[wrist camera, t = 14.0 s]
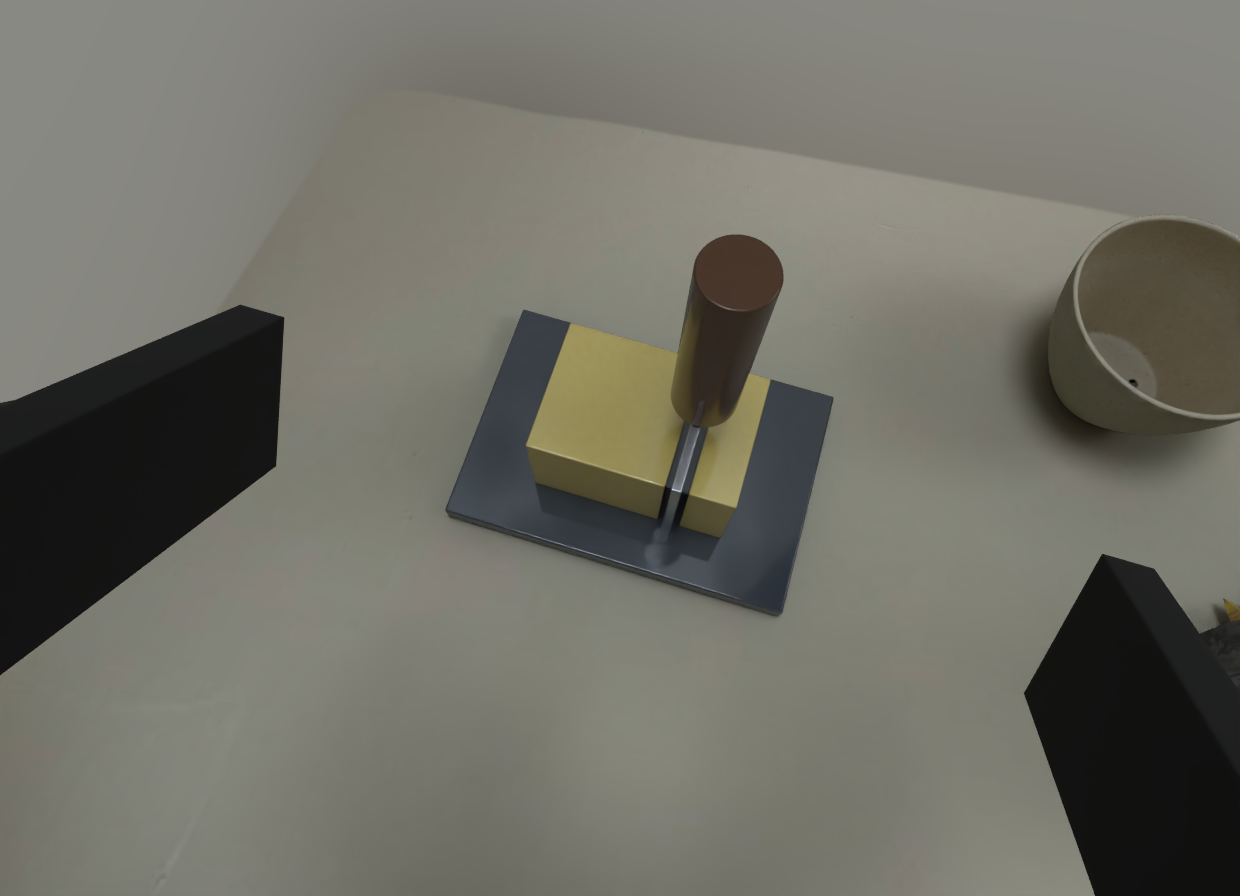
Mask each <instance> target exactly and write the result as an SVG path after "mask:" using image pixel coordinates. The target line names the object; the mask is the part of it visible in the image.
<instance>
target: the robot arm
mask: <svg viewBox="0 0 1240 896" xmlns="http://www.w3.org/2000/svg"><path fill="white" fill-rule="evenodd" d="M283 330H284V317H281V316H277V315H274V314H271V313H267V312H264V311H260V310H257V309H253V308H250V307H246V306H243V305H238V306H236V307H234V308H231V309H229V310H227V311H224V312H222V313H220V314H217V315H215V316H212V317H210V318H208V319H205V320H203V321H201V322H198V323H196V324H194V325H191V326H189V327H187V328H184V329H182V330H179V331H177V332H175V333H172V334H170V335H168V336H165V337H163V338H161V339H158V340H156V341H154V342H151V343H149V344H146V345H144V346H142V347H139V348H137V349H135V350H132V351H130V352H128V353H125V354H123V355H121V356H118V357H116V358H113V359H111V360H109V361H106V362H104V363H102V364H99V365H97V366H95V367H92V368H90V369H88V370H85V371H83V372H81V373H78V374H76V375H73V376H71V377H69V378H66V379H64V380H61V381H59V382H57V383H54V384H52V385H50V386H47V387H45V388H43V389H41V390H38V391H36V392H33V393H31V394H28V395H26V396H24V397H22V398H19V399H17V400H13V401H8V402H3V403H0V675H1V674H2V673H4V672H5V671H6V670H8V669H9V668H10V667H12V666H13V665H14V664H16V663H17V662H18V661H20V660H21V659H22V658H24V657H25V656H26V655H28V654H29V653H30V652H31V651H33V650H34V649H35V648H37V647H38V646H39V645H41V644H42V643H43V642H45V641H46V640H47V639H49V638H50V637H51V636H53V635H54V634H55V633H57V632H58V631H59V630H60V629H62V628H63V627H64V626H66V625H67V624H68V623H70V622H71V621H72V620H74V619H75V618H76V617H78V616H79V615H80V614H82V613H83V612H84V611H86V610H87V609H88V608H89V607H91V606H92V605H93V604H95V603H96V602H97V601H99V600H100V599H101V598H103V597H104V596H105V595H107V594H108V593H109V592H111V591H112V590H113V589H115V588H116V587H117V586H118V585H120V584H121V583H122V582H124V581H125V580H126V579H128V578H129V577H130V576H132V575H133V574H134V573H136V572H137V571H138V570H140V569H141V568H142V567H144V566H145V565H146V564H147V563H149V562H150V561H151V560H153V559H154V558H155V557H157V556H158V555H159V554H161V553H162V552H163V551H165V550H166V549H167V548H169V547H170V546H171V545H173V544H174V543H175V542H176V541H178V540H179V539H180V538H182V537H183V536H184V535H186V534H187V533H188V532H190V531H191V530H192V529H194V528H195V527H196V526H198V525H199V524H200V523H202V522H203V521H204V520H206V519H207V518H208V517H209V516H211V515H212V514H213V513H215V512H216V511H217V510H219V509H220V508H221V507H223V506H224V505H225V504H227V503H228V502H229V501H231V500H232V499H233V498H235V497H236V496H237V495H238V494H240V493H241V492H242V491H244V490H245V489H246V488H248V487H249V486H250V485H252V484H253V483H254V482H256V481H257V480H258V479H260V478H261V477H262V476H264V475H265V474H266V473H267V472H269V471H270V470H271V469H273V468H274V467H275V466H276V458H277V440H278V421H279V403H280V385H281V367H282V349H283ZM1024 695H1025V698H1026V700H1027V703H1028V706H1029V709H1030V712H1031V715H1032V717H1033V720H1034V723H1035V726H1036V729H1037V732H1038V734H1039V737H1040V740H1041V743H1042V746H1043V749H1044V752H1045V754H1046V757H1047V760H1048V763H1049V766H1050V769H1051V771H1052V774H1053V777H1054V780H1055V783H1056V786H1057V788H1058V791H1059V794H1060V797H1061V800H1062V803H1063V806H1064V808H1065V811H1066V814H1067V817H1068V820H1069V823H1070V825H1071V828H1072V831H1073V834H1074V837H1075V840H1076V842H1077V845H1078V848H1079V851H1080V854H1081V857H1082V860H1083V862H1084V865H1085V868H1086V871H1087V874H1088V877H1089V879H1090V882H1091V885H1092V888H1093V891H1094V894H1095V896H1240V691H1239V690H1238V688H1237V687H1236V685H1235V684H1234V683H1233V681H1232V680H1231V678H1230V677H1229V675H1228V674H1227V673H1226V671H1225V670H1224V668H1223V667H1222V665H1221V664H1220V663H1219V661H1218V660H1217V658H1216V657H1215V655H1214V654H1213V652H1212V651H1211V650H1210V648H1209V647H1208V645H1207V644H1206V642H1205V641H1204V640H1203V638H1202V637H1201V635H1200V634H1199V632H1198V631H1197V630H1196V628H1195V627H1194V625H1193V624H1192V622H1191V621H1190V620H1189V618H1188V617H1187V615H1186V614H1185V612H1184V611H1183V609H1182V608H1181V607H1180V605H1179V604H1178V602H1177V601H1176V599H1175V598H1174V597H1173V595H1172V594H1171V592H1170V591H1169V589H1168V588H1167V587H1166V585H1165V584H1164V582H1163V581H1162V579H1161V578H1160V577H1159V575H1158V574H1157V572H1156V571H1155V569H1153V568H1150V567H1146V566H1143V565H1139V564H1136V563H1132V562H1129V561H1125V560H1122V559H1118V558H1115V557H1111V556H1108V555H1105V554H1102V555H1101V557H1100V559H1099V561H1098V562H1097V564H1096V566H1095V568H1094V569H1093V571H1092V573H1091V575H1090V577H1089V578H1088V580H1087V582H1086V584H1085V586H1084V587H1083V589H1082V591H1081V593H1080V594H1079V596H1078V598H1077V600H1076V602H1075V603H1074V605H1073V607H1072V609H1071V610H1070V612H1069V614H1068V616H1067V618H1066V619H1065V621H1064V623H1063V625H1062V627H1061V628H1060V630H1059V632H1058V634H1057V635H1056V637H1055V639H1054V641H1053V643H1052V644H1051V646H1050V648H1049V650H1048V651H1047V653H1046V655H1045V657H1044V659H1043V660H1042V662H1041V664H1040V666H1039V668H1038V669H1037V671H1036V673H1035V675H1034V676H1033V678H1032V680H1031V682H1030V684H1029V685H1028V687H1027V689H1026V691H1025V692H1024Z"/></svg>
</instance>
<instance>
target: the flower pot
mask: <svg viewBox="0 0 1240 896" xmlns="http://www.w3.org/2000/svg"><path fill="white" fill-rule="evenodd" d="M1048 361H1049V370H1050V375H1051V379H1052V383H1053V386H1054V389H1055V391H1056V393H1057V395H1058V397H1059V398H1060V400H1061V401H1062V403H1063V404H1064V405H1065V406H1066V407H1067V408H1068V409H1069V410H1070V411H1071V412H1072V413H1073V414H1075V415H1076V416H1077V417H1079V418H1081V419H1082V420H1084V421H1086V422H1088V423H1091V424H1093V425H1096V426H1099V427H1102V428H1106V429H1110V430H1114V431H1119V432H1124V433H1132V434H1146V435H1164V434H1178V433H1187V432H1194V431H1199V430H1205V429H1210V428H1214V427H1218V426H1222V425H1226V424H1230V423H1233V422H1236V421H1239V420H1240V237H1239V236H1237V235H1235V234H1233V233H1232V232H1229V231H1228V230H1226V229H1224V228H1221V227H1219V226H1216V225H1214V224H1212V223H1209V222H1206V221H1202V220H1199V219H1195V218H1191V217H1185V216H1178V215H1149V216H1142V217H1137V218H1133V219H1129V220H1126V221H1124V222H1121V223H1118V224H1116V225H1115V226H1113V227H1111V228H1109V229H1108V230H1106V231H1105V232H1103V233H1102V234H1101V235H1099V236H1098V237H1097V238H1096V239H1095V240H1094V241H1093V242H1092V243H1091V244H1090V245H1089V247H1088V248H1087V249H1086V250H1085V252H1084V253H1083V255H1082V256H1081V257H1080V259H1079V261H1078V262H1077V264H1076V265H1075V267H1074V269H1073V270H1072V272H1071V274H1070V276H1069V278H1068V280H1067V282H1066V284H1065V286H1064V288H1063V290H1062V292H1061V295H1060V297H1059V300H1058V302H1057V305H1056V308H1055V312H1054V315H1053V319H1052V323H1051V328H1050V334H1049V343H1048ZM1130 380H1134V381H1135V383H1131V382H1129V381H1130Z"/></svg>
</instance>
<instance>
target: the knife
mask: <svg viewBox="0 0 1240 896" xmlns="http://www.w3.org/2000/svg"><path fill="white" fill-rule="evenodd" d="M783 276H784V275H783V269H782V265H781V262H780V260H779V258H778V257H777V255H776V254H775V252H774V251H773V250H772V249H771V248H770V247H769V246H768V245H766V244H765V243H763V242H762V241H760V240H758V239H756V238H753V237H750V236H746V235H726V236H722V237H720V238H717V239H715V240H713V241H711V242H710V243H708V244H707V245H706V246H705V247H704V248H703V249H702V250H701V251H700V252H699V254H698V256H697V258H696V260H695V263H694V268H693V273H692V279H691V284H690V290H689V295H688V301H687V306H686V311H685V317H684V322H683V328H682V333H681V339H680V344H679V349H678V355H677V360H676V366H675V371H674V377H673V382H672V388H671V402H672V405H673V407H674V409H675V411H676V413H677V414H678V415H679V416H680V417H681V418H682V419H683V420H684V421H686V422H688V423H690V428H689V431H688V434H687V438H686V441H685V445H684V448H683V451H682V455H681V458H680V461H679V465H678V468H677V471H676V475H675V478H674V481H673V485H672V488H671V492H670V496H669V500H668V504H667V508H666V512H665V516H664V520H663V524H662V528H661V532H660V536H659V540H658V541H659V542H661V543H664V544H666V543H667V540H668V537H669V533H670V530H671V527H672V523H673V520H674V516H675V513H676V510H677V506H678V503H679V499H680V496H681V493H682V489H683V486H684V482H685V479H686V476H687V472H688V469H689V465H690V462H691V459H692V455H693V452H694V448H695V445H696V442H697V438H698V435H699V431H700V428H701V427H714V426H717V425H720V424H722V423H724V422H725V421H727V420H728V419H729V418H730V417H731V416H732V415H733V413H734V412H735V410H736V407H737V405H738V402H739V399H740V397H741V394H742V391H743V389H744V386H745V383H746V381H747V378H748V375H749V373H750V370H751V368H752V365H753V362H754V360H755V357H756V354H757V352H758V349H759V346H760V344H761V341H762V338H763V336H764V333H765V330H766V328H767V325H768V323H769V320H770V317H771V315H772V312H773V309H774V307H775V304H776V301H777V299H778V296H779V293H780V291H781V288H782V285H783Z"/></svg>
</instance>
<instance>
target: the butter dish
mask: <svg viewBox="0 0 1240 896" xmlns="http://www.w3.org/2000/svg"><path fill="white" fill-rule="evenodd" d="M677 355H678V353H675V352H672V351H668V350H665V349H661V348H658V347H654V346H651V345H647V344H643V343H640V342H636V341H633V340H629V339H626V338H622V337H619V336H615V335H612V334H608V333H605V332H601V331H598V330H594V329H590V328H587V327H583V326H580V325H576V324H573V323H569V322H566V321H562V320H559V319H555V318H552V317H548V316H544V315H541V314H537V313H534V312H530V311H527V310H523V312H522V314H521V317H520V319H519V322H518V324H517V327H516V330H515V332H514V335H513V337H512V340H511V342H510V345H509V348H508V350H507V353H506V355H505V358H504V360H503V363H502V365H501V368H500V371H499V373H498V376H497V378H496V381H495V383H494V386H493V389H492V391H491V394H490V396H489V399H488V401H487V404H486V407H485V409H484V412H483V414H482V417H481V419H480V422H479V424H478V427H477V430H476V432H475V435H474V437H473V440H472V442H471V445H470V448H469V450H468V453H467V455H466V458H465V460H464V463H463V465H462V468H461V471H460V473H459V476H458V478H457V481H456V483H455V486H454V489H453V491H452V494H451V496H450V499H449V501H448V504H447V506H446V509H445V511H446V512H447V514H448V515H449V516H450V517H453V518H457V519H460V520H463V521H466V522H470V523H473V524H476V525H480V526H483V527H486V528H489V529H493V530H496V531H499V532H502V533H506V534H509V535H512V536H516V537H519V538H522V539H525V540H529V541H532V542H535V543H538V544H542V545H545V546H548V547H551V548H555V549H558V550H561V551H565V552H568V553H571V554H574V555H578V556H581V557H584V558H587V559H591V560H594V561H597V562H600V563H604V564H607V565H610V566H614V567H617V568H620V569H623V570H627V571H630V572H633V573H636V574H640V575H643V576H646V577H650V578H653V579H656V580H659V581H663V582H666V583H669V584H672V585H676V586H679V587H682V588H685V589H689V590H692V591H695V592H699V593H702V594H705V595H708V596H712V597H715V598H718V599H721V600H725V601H728V602H731V603H735V604H738V605H741V606H744V607H748V608H751V609H754V610H757V611H761V612H764V613H767V614H770V615H774V616H779V615H780V614H781V613H782V612H783V607H784V603H785V599H786V595H787V591H788V587H789V582H790V578H791V574H792V570H793V566H794V562H795V557H796V553H797V549H798V545H799V541H800V536H801V532H802V528H803V524H804V520H805V516H806V511H807V507H808V503H809V499H810V495H811V491H812V486H813V482H814V478H815V474H816V470H817V466H818V461H819V457H820V453H821V449H822V445H823V441H824V436H825V432H826V428H827V424H828V420H829V416H830V411H831V407H832V403H833V397H831V396H827V395H824V394H820V393H817V392H813V391H810V390H806V389H803V388H799V387H796V386H792V385H788V384H785V383H781V382H778V381H774V380H771V379H767V378H764V377H760V376H757V375H753V374H750V373H749V375H748V378H747V381H746V383H745V386H744V389H743V391H742V394H741V397H740V399H739V402H738V405H737V407H736V410H735V412H734V413H733V415H732V416H731V417H730V418H729V419H728V420H727V421H725V422H724V423H722V424H720V425H717V426H714V427H701V428H700V431H699V435H698V438H697V442H696V445H695V448H694V452H693V455H692V459H691V462H690V465H689V469H688V472H687V476H686V479H685V482H684V486H683V489H682V493H681V496H680V499H679V503H678V506H677V510H676V513H675V516H674V520H673V523H672V527H671V530H670V533H669V537H668V540H667V543H666V544H664V543H661V542H659V541H658V540H659V536H660V532H661V528H662V524H663V520H664V516H665V512H666V508H667V504H668V500H669V496H670V492H671V488H672V485H673V481H674V478H675V475H676V471H677V468H678V465H679V461H680V458H681V455H682V451H683V448H684V445H685V441H686V438H687V434H688V431H689V428H690V423H688V422H686V421H684V420H683V419H682V418H681V417H680V416H679V415H678V414H677V413H676V411H675V409H674V407H673V405H672V402H671V388H672V382H673V377H674V371H675V366H676V360H677Z"/></svg>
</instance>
